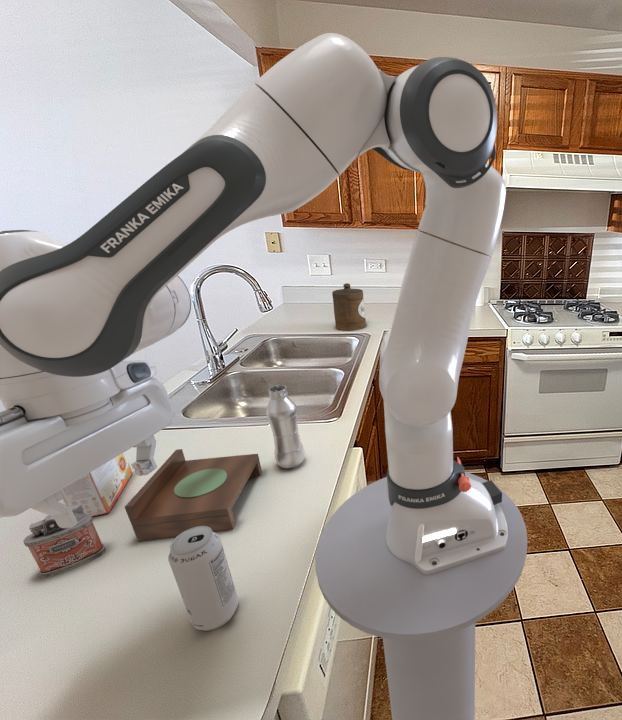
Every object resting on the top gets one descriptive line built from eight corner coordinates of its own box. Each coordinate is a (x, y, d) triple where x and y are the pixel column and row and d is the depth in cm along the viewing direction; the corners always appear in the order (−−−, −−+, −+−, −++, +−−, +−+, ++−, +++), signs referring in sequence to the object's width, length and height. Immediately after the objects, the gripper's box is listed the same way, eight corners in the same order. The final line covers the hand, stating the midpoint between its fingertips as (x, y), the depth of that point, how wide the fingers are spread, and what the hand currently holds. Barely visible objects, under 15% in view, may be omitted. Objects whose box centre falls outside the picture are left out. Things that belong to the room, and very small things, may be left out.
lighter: (40, 581, 65) (14, 534, 61) (42, 568, 67) (18, 522, 64) (106, 555, 70) (85, 510, 66) (106, 543, 72) (86, 499, 69)
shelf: (262, 471, 92) (255, 442, 89) (233, 529, 76) (223, 495, 73) (185, 479, 89) (176, 449, 86) (137, 541, 73) (124, 507, 70)
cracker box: (100, 479, 89) (66, 396, 81) (134, 473, 91) (103, 391, 83) (70, 523, 77) (26, 429, 69) (109, 514, 79) (71, 423, 71)
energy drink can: (200, 602, 62) (174, 528, 56) (243, 591, 64) (222, 518, 58) (187, 640, 56) (156, 561, 51) (234, 627, 58) (210, 550, 53)
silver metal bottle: (296, 452, 99) (282, 379, 92) (312, 462, 96) (299, 387, 88) (271, 465, 94) (254, 389, 87) (286, 475, 91) (270, 397, 83)
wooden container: (369, 328, 200) (365, 284, 192) (339, 332, 193) (333, 287, 185) (362, 321, 212) (357, 280, 204) (333, 324, 205) (327, 282, 197)
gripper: (-33, 433, 33) (43, 563, 37) (164, 357, 52) (199, 449, 57) (-99, 439, 33) (-17, 567, 38) (120, 362, 53) (158, 452, 57)
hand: (114, 495), depth 47 cm, fingers open, 8 cm apart
